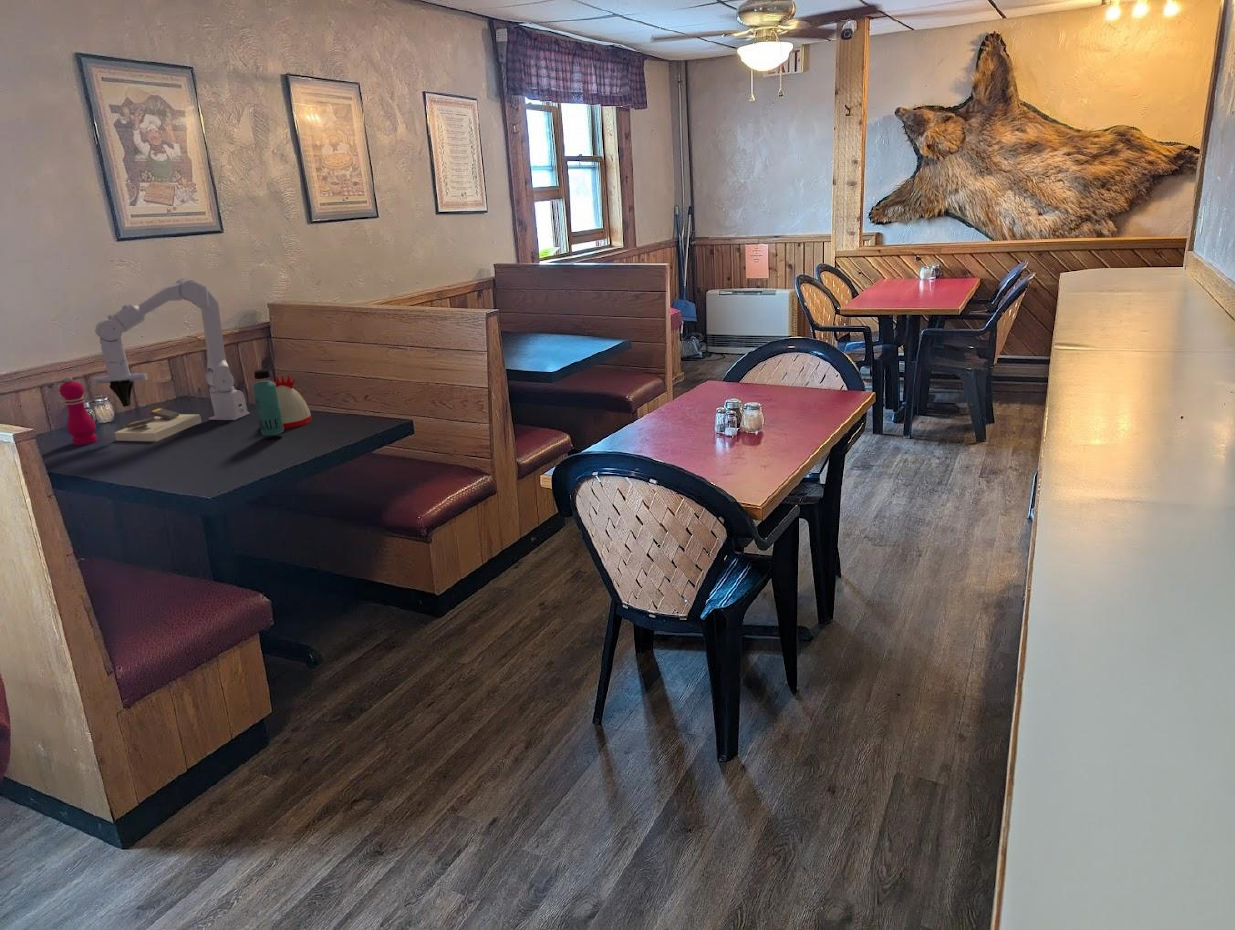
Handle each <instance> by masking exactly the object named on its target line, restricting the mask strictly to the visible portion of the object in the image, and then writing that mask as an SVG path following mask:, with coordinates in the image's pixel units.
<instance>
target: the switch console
mask: <svg viewBox="0 0 1235 930" xmlns="http://www.w3.org/2000/svg"><path fill="white" fill-rule="evenodd" d="M153 417H154V418H155V421H153V422H150V423H148V424H145V425H140V426H136V427H132V428H127V427H125V428H123V429H119V430H118V431H115V432H114V437H115V440H116V441H120V442H122V441H123V442H158V441H161V440H164V439H165V438H169V437H171V436H172V435H176V434H178V433H180V432H182V431H184V430H187V429H188V428H189V429H190V428H191V427H193V426H196V425H199V424H201V423H202V417H201V414H194V413H193V414H192V413H191V414H189V413H188V414H187V413H186V414H182V413H181V414H180V413H179V416H177V417H175V418H172V419H166V418H162V417H158V416H153Z"/></svg>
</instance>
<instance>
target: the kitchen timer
mask: <svg viewBox="0 0 1235 930" xmlns="http://www.w3.org/2000/svg"><path fill="white" fill-rule="evenodd" d="M287 375H288V376H287V380H285V378H284V376H283V374H281V381H280V378H279V377H278V375H275V376H276V377H275V378H276V379H275V381H274V380H273V379H271V380H270V381H272V382H274V383H275V384H276V390H277V395H278V401H279V407H280V410H281V415H282V422H283V425H284V426H283V427H284V430H285V429H292V428H296V427H301V426H304V425H306V424H307V425H308V424H309V423H310V422H311V421H312V414H311V411H310V409H309V405H307V403H306V401H305V397H304V396H302V395H301V394H300V392H298V391H297V390H296V389H294V387H293V386H294V384H295V380H296V377H294V378H293V379H292V381H291V379H290V378H291V377H290V374H287Z"/></svg>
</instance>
